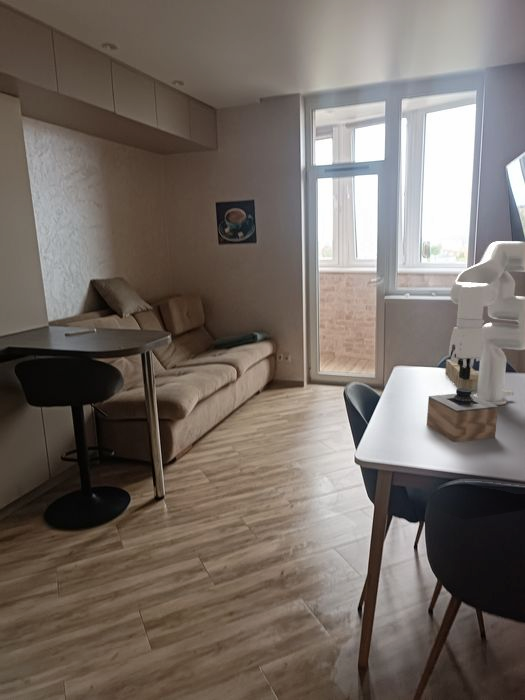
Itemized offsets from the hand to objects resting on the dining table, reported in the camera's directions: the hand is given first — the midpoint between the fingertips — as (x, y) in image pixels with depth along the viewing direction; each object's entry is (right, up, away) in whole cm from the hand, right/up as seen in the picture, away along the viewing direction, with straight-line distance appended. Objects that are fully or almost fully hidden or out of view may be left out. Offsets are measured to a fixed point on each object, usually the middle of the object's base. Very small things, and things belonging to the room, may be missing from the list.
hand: (464, 378), depth 160 cm
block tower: (+24, -6, +62) cm, 67 cm away
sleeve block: (0, -18, +4) cm, 19 cm away
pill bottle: (0, -15, +3) cm, 15 cm away
